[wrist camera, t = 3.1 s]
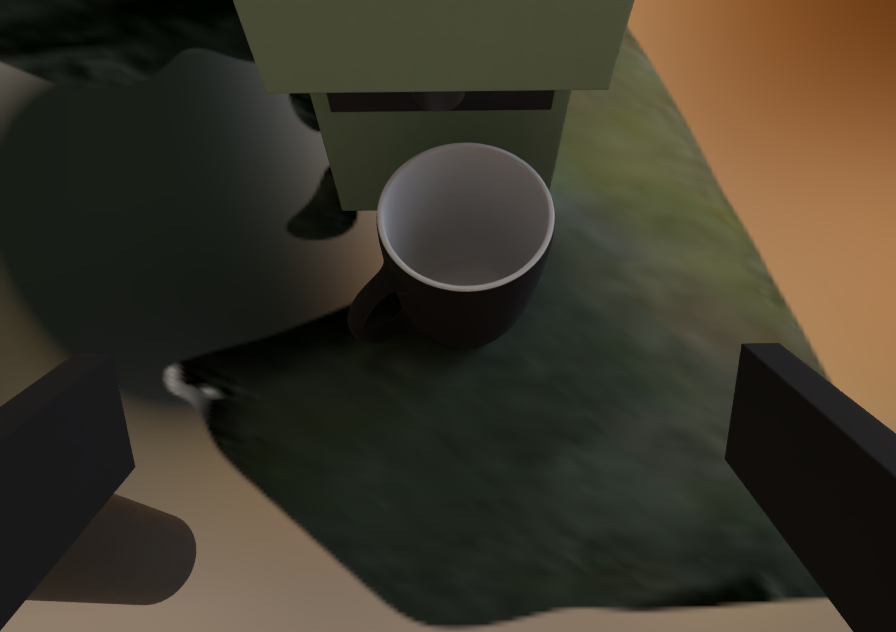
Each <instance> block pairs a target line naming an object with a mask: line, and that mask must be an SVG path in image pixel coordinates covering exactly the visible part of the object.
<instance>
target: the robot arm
mask: <svg viewBox="0 0 896 632" xmlns="http://www.w3.org/2000/svg"><path fill="white" fill-rule="evenodd" d="M725 460H726V461H727V463H728V464H729V465H730V467H731V468H732V469H733V471H734V472H735V473H736V475H737V476H738V477H739V479H740V480H741V481H742V483H743V484H744V485H745V487H746V488H747V490H748V491H749V492H750V494H751V495H752V496H753V498H754V499H755V500H756V502H757V503H758V504H759V506H760V507H761V508H762V510H763V511H764V512H765V514H766V515H767V516H768V518H769V519H770V520H771V522H772V523H773V524H774V526H775V527H776V528H777V530H778V531H779V533H780V534H781V535H782V537H783V538H784V539H785V541H786V542H787V543H788V545H789V546H790V547H791V549H792V550H793V551H794V553H795V554H796V555H797V557H798V558H799V559H800V561H801V562H802V563H803V565H804V566H805V567H806V569H807V570H808V571H809V573H810V574H811V576H812V577H813V578H814V580H815V581H816V582H817V584H818V585H819V586H820V588H821V589H822V590H823V592H824V593H825V594H826V596H827V597H828V598H829V600H830V601H831V602H832V604H833V605H834V606H835V608H836V609H837V610H838V612H839V613H840V614H841V616H842V617H843V619H844V620H845V621H846V622H847V624H848V625H849V627H850V628H851V629H852V631H853V632H896V434H895V433H894V432H893V431H892V430H890V429H889V428H888V427H886V426H885V425H884V424H883V423H881V422H880V421H879V420H877V419H876V418H875V417H874V416H872V415H871V414H870V413H868V412H867V411H866V410H865V409H863V408H862V407H861V406H859V405H858V404H857V403H855V402H854V401H853V400H852V399H850V398H849V397H848V396H846V395H845V394H844V393H843V392H841V391H840V390H839V389H837V388H836V387H835V386H834V385H832V384H831V383H830V382H828V381H827V380H826V379H824V378H823V377H822V376H821V375H819V374H818V373H817V372H815V371H814V370H813V369H812V368H810V367H809V366H808V365H806V364H805V363H804V362H803V361H801V360H800V359H799V358H797V357H796V356H795V355H793V354H792V353H791V352H790V351H788V350H787V349H786V348H784V347H783V346H782V345H781V344H779V343H754V344H742V345H741V352H740V359H739V366H738V372H737V379H736V386H735V393H734V399H733V406H732V413H731V420H730V427H729V433H728V440H727V447H726V454H725ZM134 468H135V464H134V459H133V454H132V449H131V445H130V440H129V435H128V431H127V425H126V421H125V416H124V411H123V407H122V402H121V397H120V392H119V387H118V382H117V378H116V373H115V368H114V363H113V359H112V354H111V353H100V354H99V353H97V354H74V355H73V356H71V357H70V358H68V359H67V360H66V361H64V362H63V363H61V364H60V365H58V366H57V367H56V368H54V369H53V370H51V371H50V372H49V373H47V374H46V375H44V376H43V377H42V378H40V379H39V380H38V381H36V382H35V383H33V384H32V385H30V386H29V387H28V388H26V389H25V390H24V391H22V392H21V393H19V394H18V395H16V396H15V397H14V398H12V399H11V400H9V401H8V402H7V403H5V404H4V405H2V406H1V407H0V630H1V629H2V628H3V627H4V626H5V624H6V623H7V622H8V621H9V619H10V618H11V617H12V616H13V615H14V613H15V612H16V611H17V610H18V609H19V607H20V606H21V605H22V604H23V603H24V601H25V600H26V599H27V598H28V597H29V595H30V594H31V593H32V592H33V590H34V589H35V588H36V587H37V586H38V584H39V583H40V582H41V581H42V580H43V578H44V577H45V576H46V575H47V573H48V572H49V571H50V570H51V569H52V567H53V566H54V565H55V564H56V563H57V561H58V560H59V559H60V558H61V557H62V555H63V554H64V553H65V552H66V550H67V549H68V548H69V547H70V546H71V544H72V543H73V542H74V541H75V540H76V538H77V537H78V536H79V535H80V534H81V532H82V531H83V530H84V529H85V527H86V526H87V525H88V524H89V523H90V521H91V520H92V519H93V518H94V517H95V515H96V514H97V513H98V512H99V510H100V509H101V508H102V507H103V506H104V504H105V503H106V502H107V501H108V500H109V498H110V497H111V496H112V495H113V494H114V492H115V491H116V490H117V489H118V487H119V486H120V485H121V484H122V483H123V481H124V480H125V479H126V478H127V477H128V475H129V474H130V473H131V472H132V470H133V469H134Z"/></svg>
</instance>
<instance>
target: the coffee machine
mask: <svg viewBox="0 0 896 632" xmlns="http://www.w3.org/2000/svg"><path fill="white" fill-rule="evenodd" d="M233 2H234V4H235V7H236V10H237V13H238V15H239V18H240V21H241V24H242V26H243V29H244V32H245V35H246V38H247V40H248V43H249V46H250V49H251V51H252V54H253V57H254V60H255V63H256V65H257V68H258V71H259V74H260V76H261V79H262V82H263V85H264V87H265V90H266V92H267V93H310V95H311V99H312V102H313V106H314V110H315V113H316V117H317V120H318V124H319V128H320V131H321V135H322V138H323V142H324V145H325V149H326V152H327V156H328V160H329V164H330V167H331V171H332V174H333V178H334V182H335V185H336V189H337V192H338V196H339V200H340V203H341V207H342V210H343V211H362V210H377V207H378V202H379V199H380V196H381V193H382V191H383V189H384V187H385V185H386V183H387V181H388V180H389V179H390V177H391V176H392V175H393V174H394V172H395V171H396V170H397V169H398V168H399V167H400V166H401V165H403V164H404V163H405V162H406V161H408V160H409V159H411V158H412V157H414V156H416V155H417V154H419V153H421V152H423V151H426V150H428V149H431V148H434V147H437V146H441V145H446V144H453V143H479V144H485V145H489V146H493V147H497V148H500V149H503V150H505V151H507V152H510V153H512V154H513V155H515V156H517V157H519V158H520V159H522V160H523V161H525V162H526V163H527V164H528V165H530V166H531V167H532V168H533V169H534V170H535V171H536V172H537V173H538V175H539V176H540V177H541V178H542V180H543V181H544V183H545V185H546V186H547V188H548V190H549V191H550V187H551V182H552V178H553V173H554V168H555V164H556V159H557V155H558V150H559V146H560V141H561V136H562V132H563V127H564V123H565V118H566V114H567V109H568V104H569V100H570V95H571V91H572V90H607V89H609V86H610V83H611V80H612V76H613V73H614V69H615V66H616V62H617V59H618V55H619V52H620V48H621V45H622V41H623V38H624V34H625V31H626V27H627V24H628V21H629V17H630V13H631V10H632V7H633V3H634V0H233Z"/></svg>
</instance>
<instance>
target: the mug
mask: <svg viewBox="0 0 896 632" xmlns="http://www.w3.org/2000/svg"><path fill="white" fill-rule="evenodd" d="M554 225H555V214H554V206H553V201H552V198H551V195H550V193H549V190H548V188H547V186H546V185H545V183H544V181H543V180H542V178H541V177H540V176H539V175H538V173H537V172H536V171H535V170H534V169H533V168H532V167H531V166H530V165H528V164H527V163H526V162H525V161H523V160H522V159H520V158H519V157H517V156H515V155H513V154H512V153H510V152H507V151H505V150H503V149H500V148H497V147H493V146H489V145H485V144H479V143H453V144H446V145H441V146H437V147H434V148H431V149H428V150H426V151H423V152H421V153H419V154H417V155H416V156H414V157H412V158H411V159H409V160H408V161H406V162H405V163H404V164H403V165H401V166H400V167H399V168H398V169H397V170H396V171H395V172H394V174H393V175H392V176H391V177H390V179H389V180H388V181H387V183H386V185H385V187H384V189H383V191H382V193H381V196H380V199H379V202H378V207H377V231H378V237H379V242H380V247H381V250H382V255H383V258H384V264H383V266H382V268H381V269H380V271H379V272H378V273H377V274H376V275H375V276H374V277H373V278H372V279H371V280H370V281H369V282H368V283H367V284H366V285H365V286H364V288H363V289H362V290H361V291H360V292H359V293H358V295H357V296H356V298H355V299H354V301H353V303H352V305H351V307H350V310H349V313H348V325H349V328H350V331H351V332H352V334H353V335H354V336H355V337H356V338H357V339H358V340H360V341H361V342H363V343H367V344H379V343H384V342H388V341H390V340H393V339H396V338H398V337H400V336H403V335H405V334H408V333H412V332H422V333H424V334H425V335H426V336H428V337H429V338H431V339H432V340H434V341H436V342H438V343H441V344H443V345H446V346H450V347H455V348H473V347H478V346H482V345H485V344H488V343H490V342H492V341H494V340H496V339H497V338H499V337H500V336H501V335H503V334H504V333H505V332H506V331H507V330H508V329H509V328H510V327H511V326H512V325H513V324H514V323H515V322H516V320H517V319H518V318H519V316H520V315H521V313H522V312H523V310H524V308H525V307H526V305H527V303H528V301H529V300H530V298H531V296H532V294H533V292H534V289H535V287H536V285H537V283H538V280H539V278H540V276H541V273H542V270H543V268H544V265H545V262H546V259H547V256H548V253H549V250H550V246H551V242H552V238H553V232H554ZM392 292H396V293H397V296H398V298H399V300H400V302H401V305H402V308H401V311H400V312H399V314H398V315H397V316H396V317H394V318H393V319H391V320H389V321H387V322H385V323H382V324H379V325H375V326H364V324H365V322H366V319H367V318H368V316H369V314H370V313H371V311H372V310H373V309H374V308H375V306H376V305H377V304H378V303H379V302H380V301H381V300H382V299H383V298H385V297H386V296H387V295H389V294H390V293H392Z"/></svg>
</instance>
